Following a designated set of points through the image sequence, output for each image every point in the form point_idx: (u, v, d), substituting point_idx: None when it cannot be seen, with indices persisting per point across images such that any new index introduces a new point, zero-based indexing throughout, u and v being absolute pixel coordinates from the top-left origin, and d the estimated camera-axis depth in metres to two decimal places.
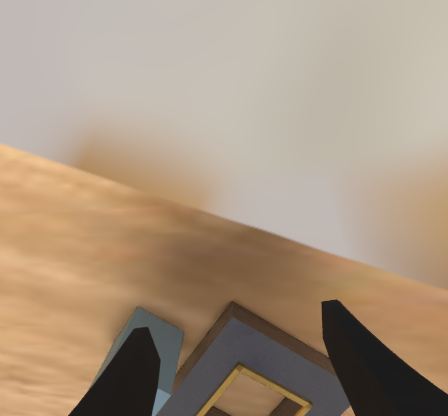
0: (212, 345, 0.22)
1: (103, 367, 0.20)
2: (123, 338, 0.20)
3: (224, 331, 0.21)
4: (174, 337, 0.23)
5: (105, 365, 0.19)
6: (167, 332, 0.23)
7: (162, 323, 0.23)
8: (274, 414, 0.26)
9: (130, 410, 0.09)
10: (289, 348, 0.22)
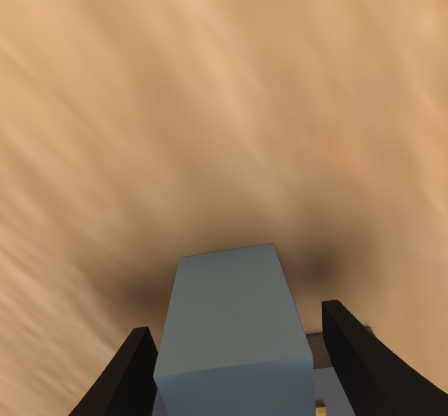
0: (328, 369, 0.14)
1: (227, 320, 0.09)
2: (292, 299, 0.10)
3: None
4: None
5: (247, 326, 0.09)
6: None
7: None
8: None
9: (130, 410, 0.09)
10: None
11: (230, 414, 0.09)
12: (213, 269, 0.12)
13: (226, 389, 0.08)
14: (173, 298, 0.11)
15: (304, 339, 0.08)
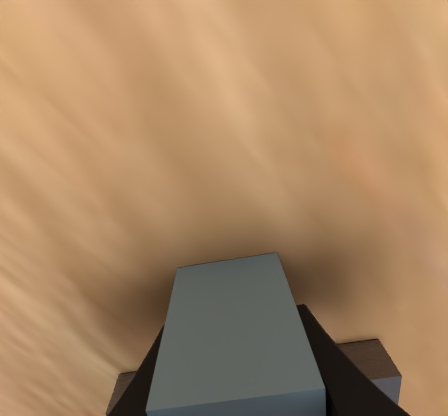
0: None
1: (228, 343, 0.08)
2: (300, 319, 0.09)
3: None
4: None
5: (251, 351, 0.08)
6: None
7: None
8: None
9: None
10: None
11: None
12: (213, 282, 0.11)
13: None
14: (170, 315, 0.10)
15: (315, 368, 0.07)
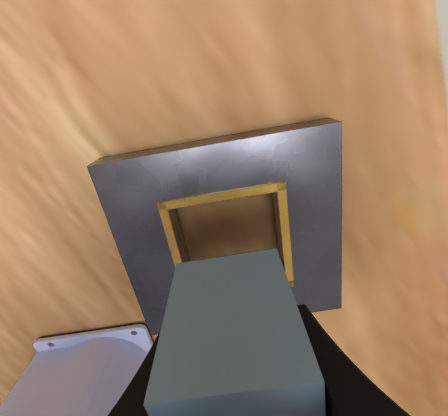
0: (285, 134, 0.15)
1: (227, 337, 0.08)
2: (299, 313, 0.09)
3: (314, 130, 0.15)
4: None
5: (250, 345, 0.08)
6: None
7: None
8: None
9: None
10: (340, 212, 0.17)
11: None
12: (212, 277, 0.11)
13: None
14: (168, 310, 0.10)
15: (314, 362, 0.07)
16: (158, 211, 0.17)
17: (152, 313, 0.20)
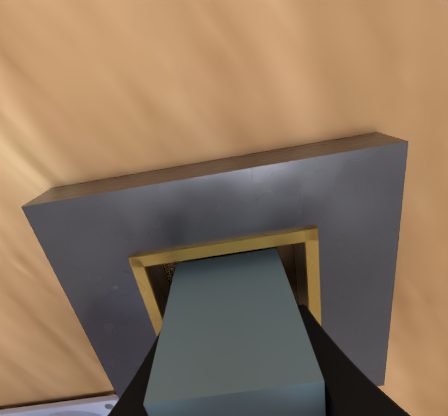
0: (320, 159, 0.10)
1: (227, 337, 0.08)
2: (299, 313, 0.09)
3: (365, 154, 0.10)
4: None
5: (250, 345, 0.08)
6: None
7: None
8: None
9: None
10: (393, 267, 0.12)
11: None
12: (212, 277, 0.11)
13: None
14: (168, 310, 0.10)
15: (314, 361, 0.07)
16: (131, 268, 0.11)
17: None
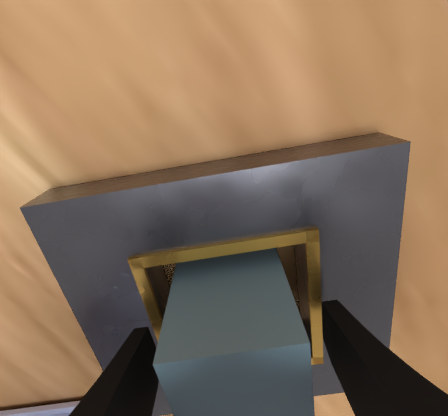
0: (321, 160, 0.10)
1: (226, 310, 0.09)
2: (290, 290, 0.10)
3: (367, 155, 0.10)
4: None
5: (246, 316, 0.09)
6: None
7: None
8: None
9: (130, 410, 0.09)
10: (394, 268, 0.12)
11: (229, 403, 0.09)
12: (212, 262, 0.12)
13: (225, 378, 0.08)
14: (173, 290, 0.11)
15: (302, 328, 0.08)
16: (130, 269, 0.11)
17: None
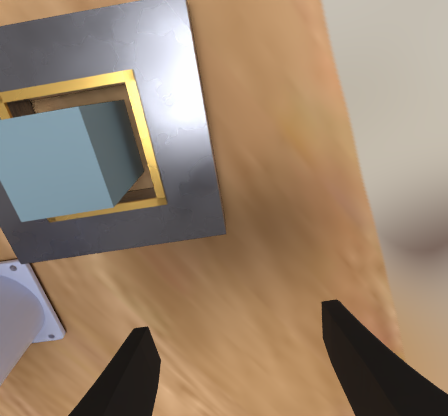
0: (121, 7, 0.13)
1: None
2: (100, 105, 0.13)
3: (154, 3, 0.13)
4: (136, 165, 0.17)
5: None
6: (134, 154, 0.17)
7: (133, 142, 0.17)
8: None
9: (130, 410, 0.09)
10: (205, 113, 0.15)
11: (38, 168, 0.12)
12: None
13: (28, 141, 0.12)
14: None
15: None
16: None
17: (16, 237, 0.18)
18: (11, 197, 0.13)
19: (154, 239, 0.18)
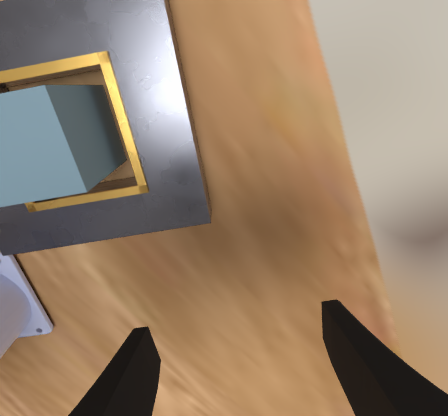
0: None
1: None
2: (73, 87, 0.13)
3: None
4: (117, 153, 0.17)
5: None
6: (114, 141, 0.17)
7: (114, 128, 0.17)
8: None
9: (130, 410, 0.09)
10: (184, 96, 0.15)
11: (7, 152, 0.12)
12: None
13: None
14: None
15: (50, 85, 0.11)
16: None
17: None
18: None
19: (137, 229, 0.18)
